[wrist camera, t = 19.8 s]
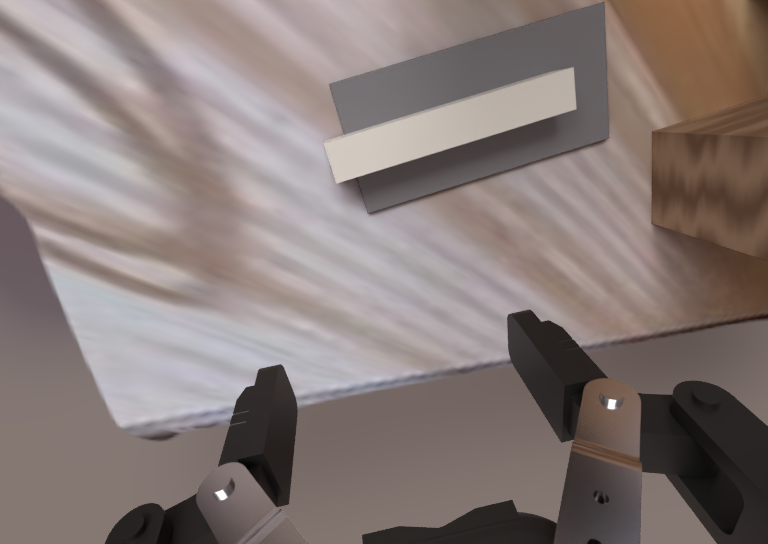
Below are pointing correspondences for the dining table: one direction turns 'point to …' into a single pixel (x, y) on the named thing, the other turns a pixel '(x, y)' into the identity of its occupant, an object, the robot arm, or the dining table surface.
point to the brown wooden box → (715, 177)
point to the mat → (473, 76)
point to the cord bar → (451, 124)
